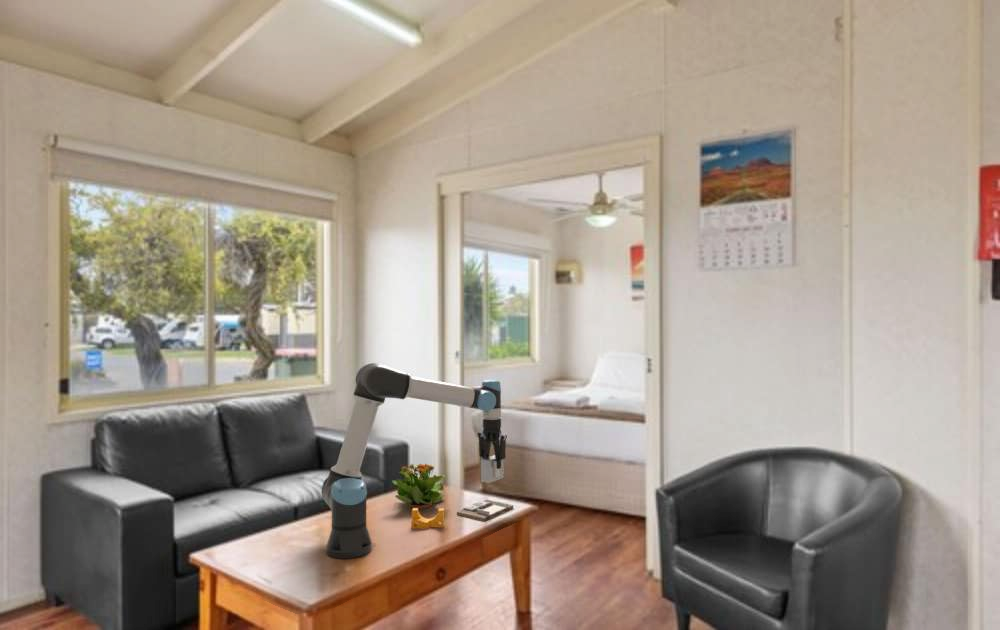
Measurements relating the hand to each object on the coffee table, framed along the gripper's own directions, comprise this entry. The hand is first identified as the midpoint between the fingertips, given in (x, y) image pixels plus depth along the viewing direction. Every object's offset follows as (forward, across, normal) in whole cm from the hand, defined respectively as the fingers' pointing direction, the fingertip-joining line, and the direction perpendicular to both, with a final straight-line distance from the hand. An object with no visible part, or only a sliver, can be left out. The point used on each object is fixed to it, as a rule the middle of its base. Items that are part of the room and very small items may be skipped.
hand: (492, 475), depth 249 cm
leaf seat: (+14, 0, 0) cm, 14 cm away
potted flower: (+15, -31, -10) cm, 36 cm away
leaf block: (+2, 0, 0) cm, 2 cm away
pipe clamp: (+16, -11, -27) cm, 33 cm away
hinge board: (+15, -4, 0) cm, 16 cm away
